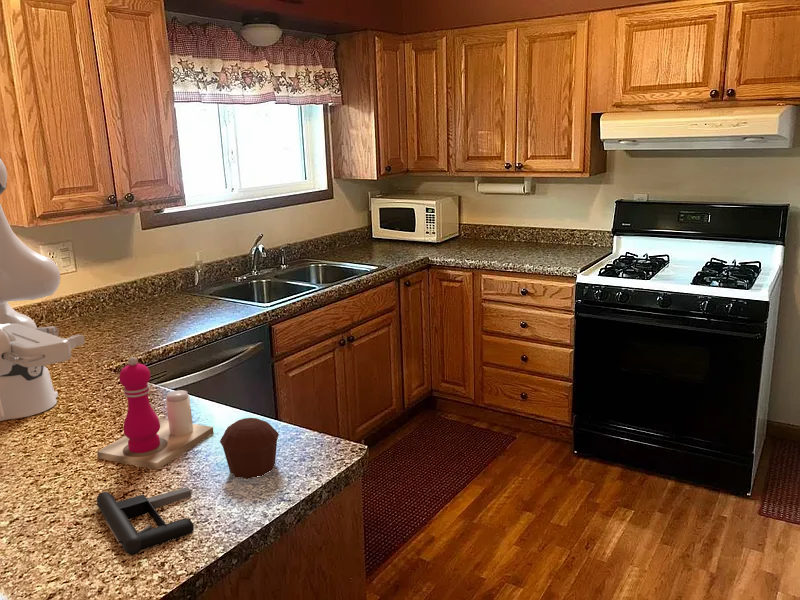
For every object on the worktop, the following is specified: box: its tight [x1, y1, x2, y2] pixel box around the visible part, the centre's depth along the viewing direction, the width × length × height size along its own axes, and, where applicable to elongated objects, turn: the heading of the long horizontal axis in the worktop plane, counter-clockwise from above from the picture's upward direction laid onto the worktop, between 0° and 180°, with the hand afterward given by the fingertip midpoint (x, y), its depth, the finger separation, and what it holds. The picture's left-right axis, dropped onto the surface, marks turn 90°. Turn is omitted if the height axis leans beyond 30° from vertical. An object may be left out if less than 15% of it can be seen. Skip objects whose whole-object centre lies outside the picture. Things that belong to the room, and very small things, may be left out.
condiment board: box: [96, 417, 214, 471], centre depth 144 cm, size 16×18×2 cm
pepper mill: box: [118, 356, 160, 453], centre depth 138 cm, size 7×7×20 cm
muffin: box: [219, 417, 280, 480], centre depth 132 cm, size 12×11×10 cm
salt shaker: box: [165, 389, 194, 437], centre depth 146 cm, size 5×5×9 cm
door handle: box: [91, 486, 195, 556], centre depth 116 cm, size 3×20×16 cm
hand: (69, 334), depth 125 cm, fingers open, 8 cm apart
